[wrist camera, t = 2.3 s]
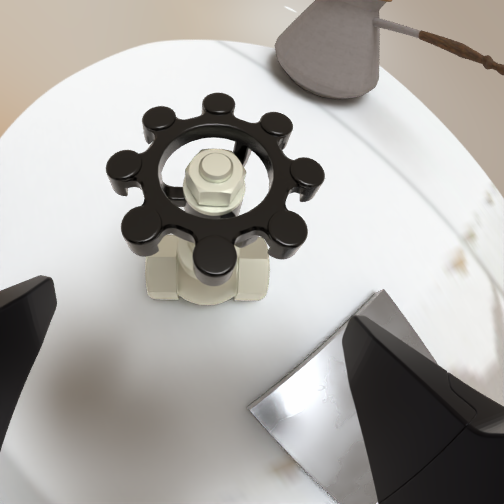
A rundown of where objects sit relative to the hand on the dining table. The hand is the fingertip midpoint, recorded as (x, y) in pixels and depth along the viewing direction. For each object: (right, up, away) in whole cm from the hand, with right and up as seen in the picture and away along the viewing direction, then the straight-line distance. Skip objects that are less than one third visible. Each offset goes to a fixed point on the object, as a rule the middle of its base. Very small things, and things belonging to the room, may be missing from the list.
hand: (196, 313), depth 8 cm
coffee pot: (+12, +17, +20) cm, 29 cm away
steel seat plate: (+10, -9, +10) cm, 16 cm away
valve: (-1, 0, +11) cm, 12 cm away
